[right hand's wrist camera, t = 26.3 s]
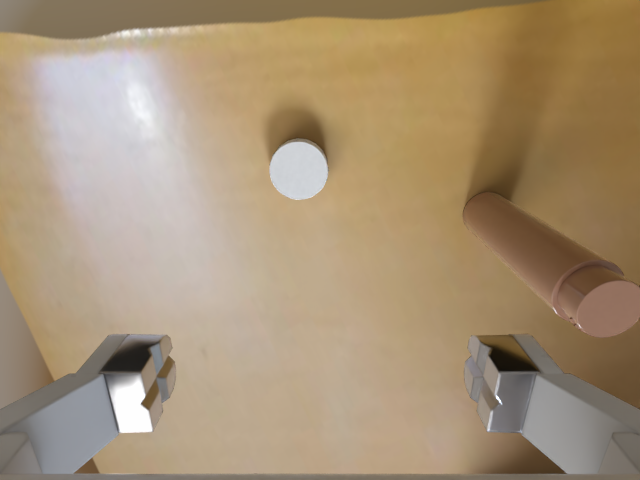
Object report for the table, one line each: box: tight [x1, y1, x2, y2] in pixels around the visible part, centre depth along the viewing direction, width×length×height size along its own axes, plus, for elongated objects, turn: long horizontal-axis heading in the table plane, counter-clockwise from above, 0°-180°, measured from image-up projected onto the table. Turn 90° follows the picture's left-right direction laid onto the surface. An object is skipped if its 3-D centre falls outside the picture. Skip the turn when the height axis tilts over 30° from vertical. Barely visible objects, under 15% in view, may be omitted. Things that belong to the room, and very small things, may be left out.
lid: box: [270, 138, 329, 200], centre depth 37 cm, size 6×6×2 cm
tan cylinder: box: [463, 192, 640, 337], centre depth 31 cm, size 4×4×19 cm
